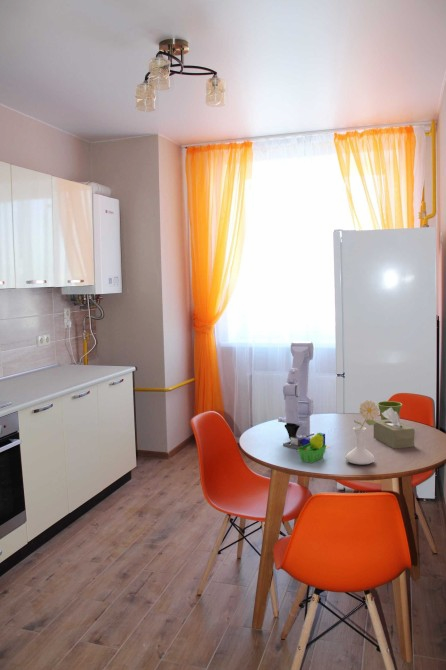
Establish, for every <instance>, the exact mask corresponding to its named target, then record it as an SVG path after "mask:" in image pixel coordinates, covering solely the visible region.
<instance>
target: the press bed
mask: <svg viewBox="0 0 446 670" xmlns="http://www.w3.org/2000/svg"><path fill="white" fill-rule="evenodd" d="M282 446H283V447H287V448H290V449H295V450H297V451H296V452H297V453H299V451H298V448H300V447H298V446H294V445H291V440H289V441H287V442H286V441H285V442H284V443H282ZM328 448H331V446H329V445H326V448H325V450H326V449H328Z"/></svg>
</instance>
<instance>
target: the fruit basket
mask: <svg viewBox="0 0 446 670" xmlns="http://www.w3.org/2000/svg"><path fill="white" fill-rule="evenodd" d="M321 433H322V432H317V433H316V434H315V435H313V436H312V437H310V438H309V439H310V443H309V444H307V445H304V446H302V447H300V448H298V449H297V451H299V452H298V454H299V457H300V462H307V463H311V464H312V463H314V462H317V461H318V460H321V459H322V458H324V455H325V451H326V449H327V448H326V446H327V445H326V444H325V445H323V435H322V434H321ZM325 448H326V449H325Z"/></svg>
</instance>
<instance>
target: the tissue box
mask: <svg viewBox="0 0 446 670" xmlns="http://www.w3.org/2000/svg"><path fill="white" fill-rule="evenodd" d="M382 415H383V416H384V417H385V418H387V420H381V419H378V420H374V421H375V422H376V424H374V425H373V438H374V439H376V440H377V441H380V442H381V443H383V444H385V445H387V446H388V447H390V448H392V449H402V448H414V447H415V428H414V427H411V426H410V425H407V424H405V423H402V422H401V419H400V414H399V415H398V413H397V412H394V411H393V409H392V407H390V408H389V409H388V410H387V411H384V412H383V413H382Z"/></svg>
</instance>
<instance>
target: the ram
mask: <svg viewBox="0 0 446 670" xmlns="http://www.w3.org/2000/svg"><path fill="white" fill-rule="evenodd" d="M303 438H307V436H304V435H299V434H298V435H296V436H293V437H290V438H289V441H291V444H290V445H294V446H298V447H302V446H303Z"/></svg>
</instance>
